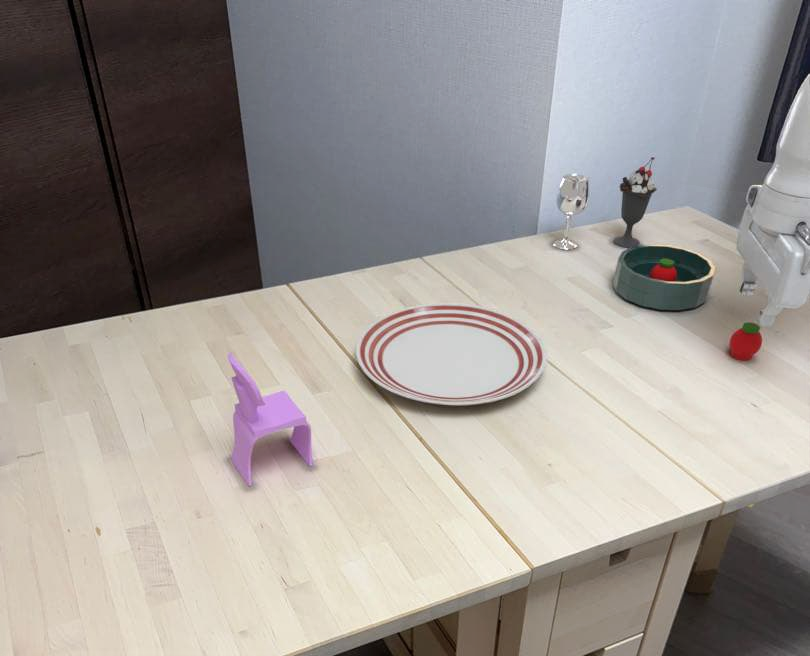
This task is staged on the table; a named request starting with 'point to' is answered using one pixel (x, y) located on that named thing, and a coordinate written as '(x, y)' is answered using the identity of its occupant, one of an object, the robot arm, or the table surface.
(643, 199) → the sundae
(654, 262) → the bowl
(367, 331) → the dinner plate
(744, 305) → the table surface
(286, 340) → the table surface
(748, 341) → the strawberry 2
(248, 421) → the toy chair
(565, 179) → the wineglass
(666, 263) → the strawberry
